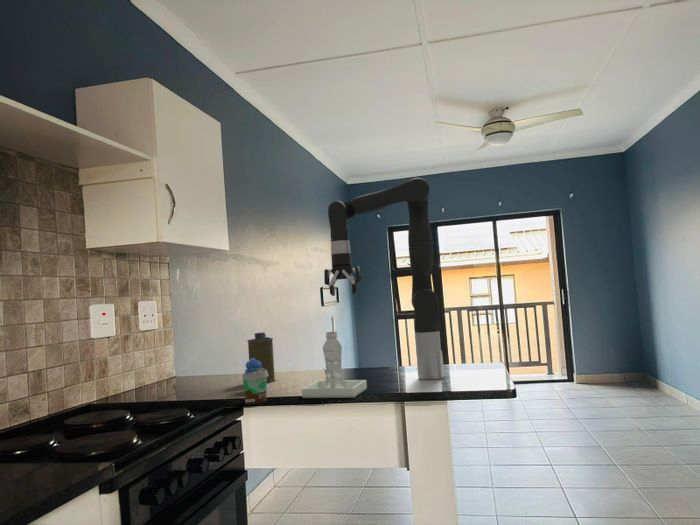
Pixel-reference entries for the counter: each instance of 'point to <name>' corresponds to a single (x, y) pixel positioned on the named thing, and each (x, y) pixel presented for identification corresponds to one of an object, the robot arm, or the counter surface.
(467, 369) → the counter surface
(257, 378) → the food container
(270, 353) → the canister
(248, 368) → the grapes
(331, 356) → the plastic bottle
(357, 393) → the tray
